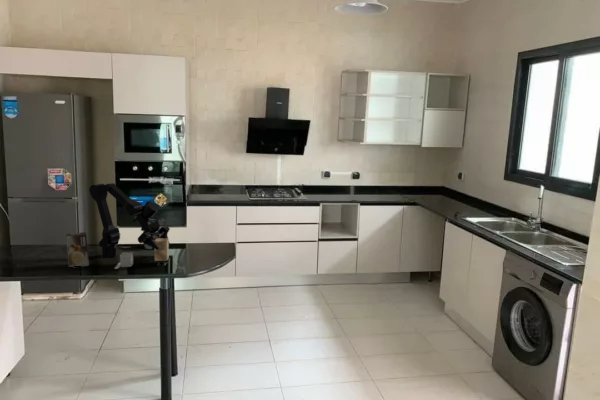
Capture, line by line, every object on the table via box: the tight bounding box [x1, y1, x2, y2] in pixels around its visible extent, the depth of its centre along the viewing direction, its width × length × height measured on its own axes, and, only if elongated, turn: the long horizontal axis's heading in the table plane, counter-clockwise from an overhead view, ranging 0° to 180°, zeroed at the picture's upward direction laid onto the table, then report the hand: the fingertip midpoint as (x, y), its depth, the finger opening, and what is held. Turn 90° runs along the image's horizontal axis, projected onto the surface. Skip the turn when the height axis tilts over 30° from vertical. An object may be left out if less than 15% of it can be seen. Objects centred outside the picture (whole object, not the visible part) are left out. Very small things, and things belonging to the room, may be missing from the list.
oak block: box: [153, 237, 170, 262], centre depth 240 cm, size 6×6×10 cm
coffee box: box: [65, 232, 90, 268], centre depth 237 cm, size 9×6×16 cm
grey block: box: [119, 251, 134, 268], centre depth 238 cm, size 5×5×6 cm
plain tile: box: [114, 262, 121, 270], centre depth 238 cm, size 10×10×1 cm
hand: (163, 247), depth 240 cm, fingers closed on oak block, 8 cm apart
